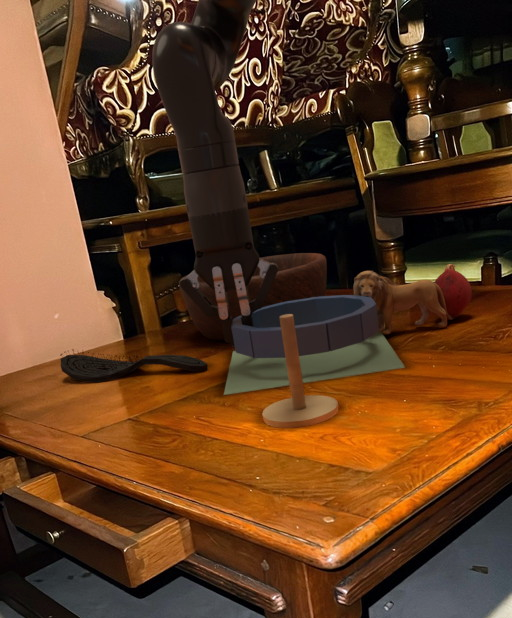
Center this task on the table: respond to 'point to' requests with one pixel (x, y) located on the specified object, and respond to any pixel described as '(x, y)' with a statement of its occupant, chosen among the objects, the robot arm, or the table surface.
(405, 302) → the lion figurine
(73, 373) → the hairbrush
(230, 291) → the wooden bowl
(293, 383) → the dowel stand
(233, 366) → the green mat
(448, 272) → the onion
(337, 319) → the blue ring
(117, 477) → the table surface
